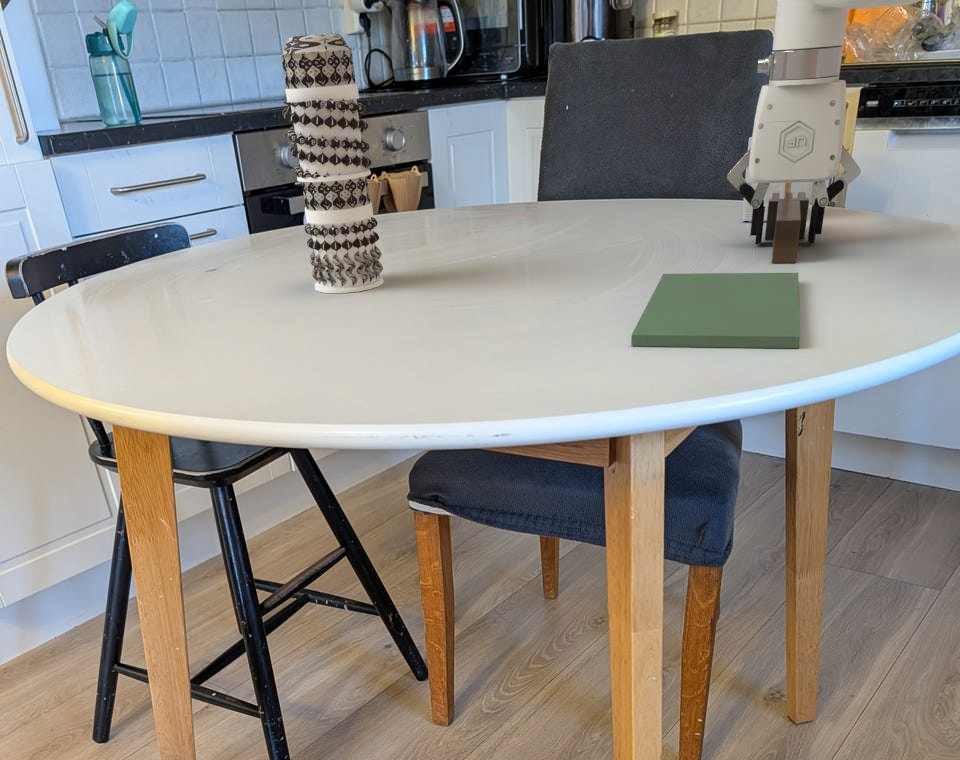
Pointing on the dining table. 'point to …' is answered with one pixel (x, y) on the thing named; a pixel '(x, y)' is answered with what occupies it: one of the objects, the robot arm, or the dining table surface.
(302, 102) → the decorative candle
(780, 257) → the fork
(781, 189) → the small box
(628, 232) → the dining table surface
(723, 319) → the mat
